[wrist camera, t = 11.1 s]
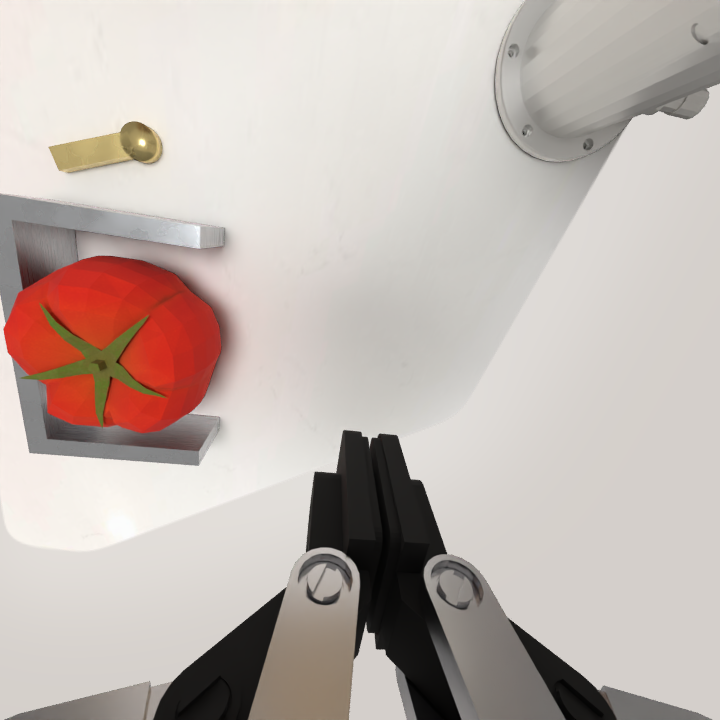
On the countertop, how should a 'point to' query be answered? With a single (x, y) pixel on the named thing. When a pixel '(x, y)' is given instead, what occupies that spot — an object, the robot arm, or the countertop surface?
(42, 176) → the countertop surface
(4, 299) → the grey u-shaped bracket
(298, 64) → the countertop surface
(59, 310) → the tomato
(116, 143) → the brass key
